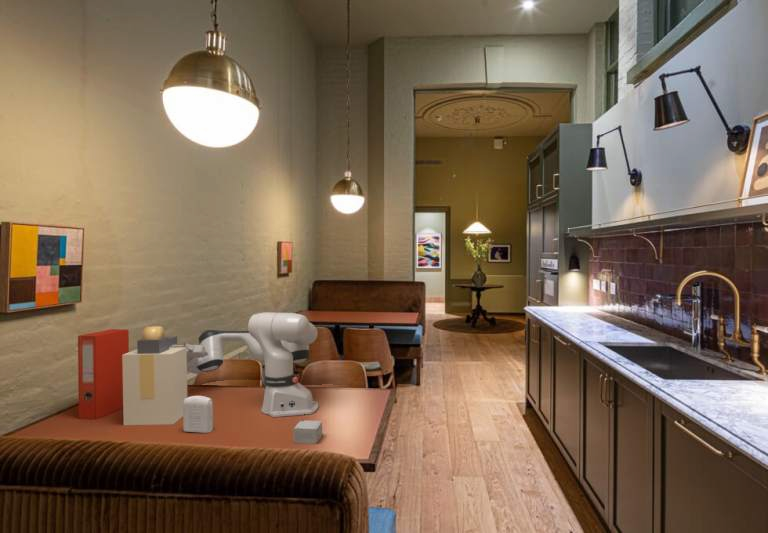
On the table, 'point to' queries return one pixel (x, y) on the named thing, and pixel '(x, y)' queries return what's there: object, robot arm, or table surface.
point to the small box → (308, 432)
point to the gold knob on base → (154, 341)
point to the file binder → (101, 372)
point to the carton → (154, 387)
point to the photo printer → (198, 414)
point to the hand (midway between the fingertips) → (173, 345)
